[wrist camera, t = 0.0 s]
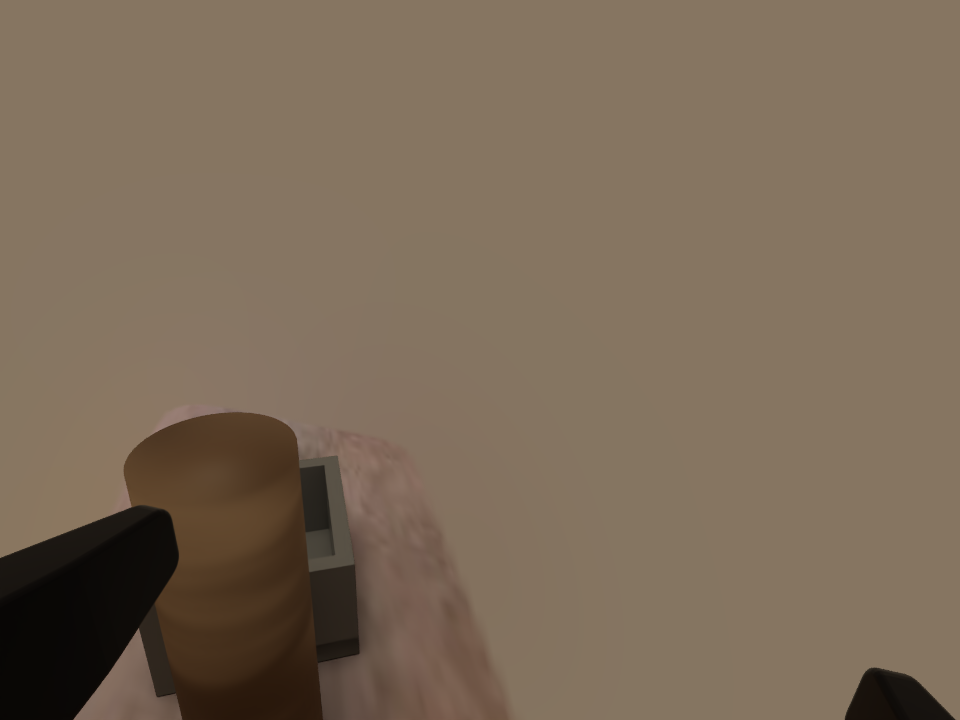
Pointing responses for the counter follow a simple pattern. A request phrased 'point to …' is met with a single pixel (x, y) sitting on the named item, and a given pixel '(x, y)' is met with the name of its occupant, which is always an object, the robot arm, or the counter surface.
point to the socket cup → (326, 572)
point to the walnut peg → (233, 566)
